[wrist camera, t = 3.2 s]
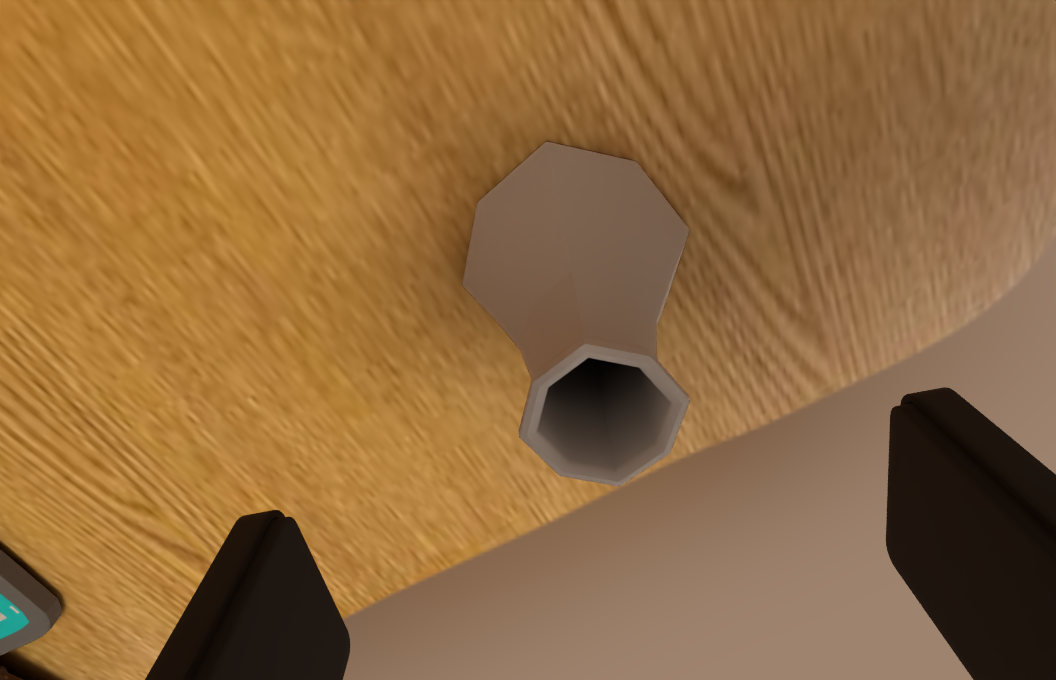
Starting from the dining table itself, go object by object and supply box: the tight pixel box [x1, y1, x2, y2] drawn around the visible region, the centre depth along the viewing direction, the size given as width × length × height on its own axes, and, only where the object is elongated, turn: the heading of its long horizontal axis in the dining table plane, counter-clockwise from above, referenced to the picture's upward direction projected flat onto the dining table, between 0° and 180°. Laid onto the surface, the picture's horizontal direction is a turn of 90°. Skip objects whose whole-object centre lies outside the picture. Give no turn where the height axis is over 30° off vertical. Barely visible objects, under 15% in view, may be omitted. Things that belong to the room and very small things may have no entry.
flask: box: [462, 141, 690, 486], centre depth 17 cm, size 7×7×10 cm
